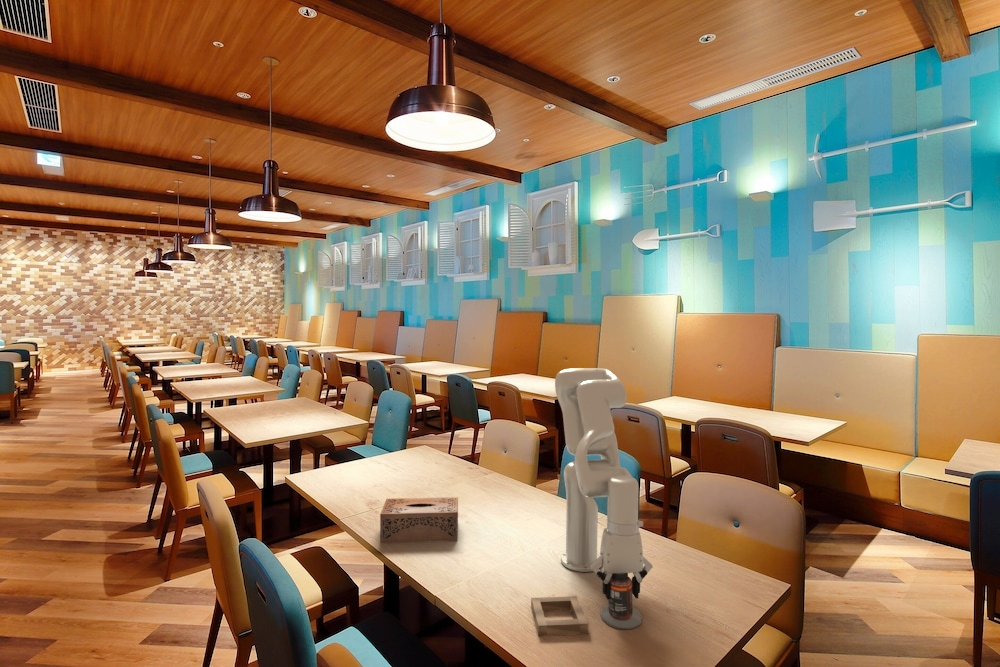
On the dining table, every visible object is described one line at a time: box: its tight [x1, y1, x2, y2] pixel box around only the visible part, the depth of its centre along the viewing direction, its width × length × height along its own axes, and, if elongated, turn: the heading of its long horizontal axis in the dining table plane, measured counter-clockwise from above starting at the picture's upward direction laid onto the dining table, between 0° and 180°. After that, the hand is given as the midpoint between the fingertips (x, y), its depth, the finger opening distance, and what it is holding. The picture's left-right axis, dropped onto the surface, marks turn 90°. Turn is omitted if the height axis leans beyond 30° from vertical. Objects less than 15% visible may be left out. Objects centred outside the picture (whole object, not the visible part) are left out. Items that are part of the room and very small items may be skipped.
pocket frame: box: [530, 595, 589, 637], centre depth 127 cm, size 12×12×2 cm
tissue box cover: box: [379, 496, 459, 544], centre depth 177 cm, size 26×14×10 cm, turn 95°
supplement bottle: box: [608, 573, 634, 619], centre depth 128 cm, size 6×6×11 cm
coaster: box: [600, 603, 642, 630], centre depth 128 cm, size 10×10×1 cm
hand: (621, 595), depth 128 cm, fingers open, 6 cm apart
